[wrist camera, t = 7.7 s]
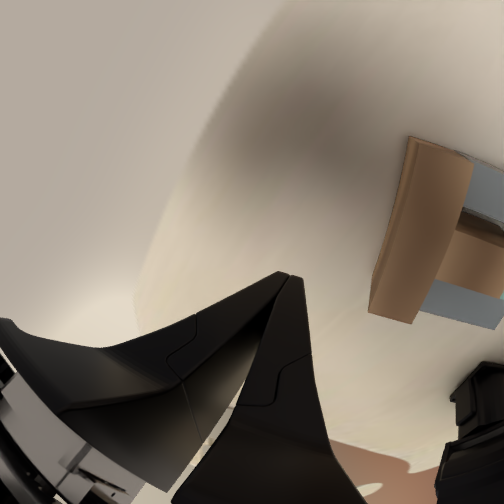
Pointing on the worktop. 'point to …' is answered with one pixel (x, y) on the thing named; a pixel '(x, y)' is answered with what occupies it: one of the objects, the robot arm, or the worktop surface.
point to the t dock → (458, 298)
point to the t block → (434, 236)
